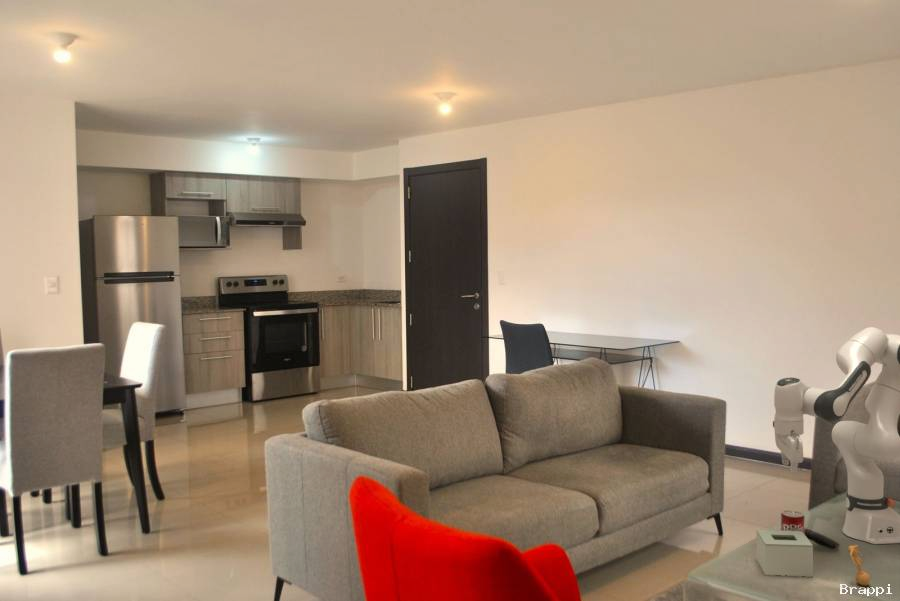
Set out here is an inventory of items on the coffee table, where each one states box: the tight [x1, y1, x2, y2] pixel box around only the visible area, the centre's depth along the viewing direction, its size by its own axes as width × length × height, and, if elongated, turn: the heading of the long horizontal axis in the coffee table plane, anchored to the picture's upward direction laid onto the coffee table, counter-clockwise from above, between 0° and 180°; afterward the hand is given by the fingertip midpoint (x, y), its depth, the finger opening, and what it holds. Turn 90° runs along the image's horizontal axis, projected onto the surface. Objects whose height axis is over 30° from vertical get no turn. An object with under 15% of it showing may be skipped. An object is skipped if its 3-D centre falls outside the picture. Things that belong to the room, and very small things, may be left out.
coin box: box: [756, 529, 814, 578], centre depth 251 cm, size 14×12×10 cm
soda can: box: [780, 509, 805, 534], centre depth 266 cm, size 7×7×12 cm
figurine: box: [847, 544, 871, 587], centre depth 238 cm, size 8×6×12 cm
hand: (789, 468), depth 262 cm, fingers open, 8 cm apart
